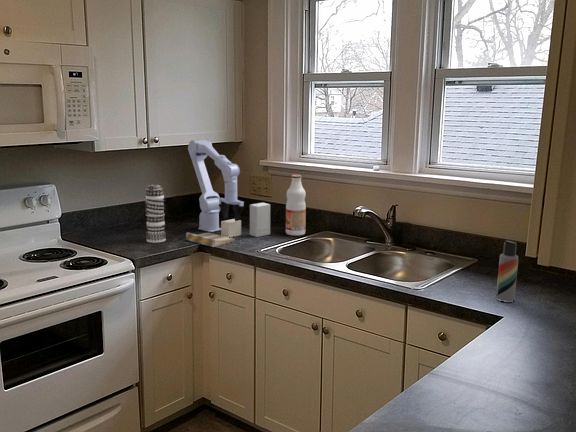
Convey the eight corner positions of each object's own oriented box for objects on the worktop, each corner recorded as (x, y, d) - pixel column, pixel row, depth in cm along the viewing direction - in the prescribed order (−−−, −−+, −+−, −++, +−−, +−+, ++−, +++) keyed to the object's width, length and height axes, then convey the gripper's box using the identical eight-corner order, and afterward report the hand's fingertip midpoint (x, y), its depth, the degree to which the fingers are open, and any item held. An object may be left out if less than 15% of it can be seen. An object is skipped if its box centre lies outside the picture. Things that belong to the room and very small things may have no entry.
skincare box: (263, 232, 280) (263, 202, 277) (270, 235, 276) (271, 204, 273) (248, 234, 275) (249, 203, 272) (256, 237, 271) (256, 205, 268)
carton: (221, 236, 273) (220, 221, 271) (233, 233, 279) (233, 218, 277) (228, 237, 270) (228, 223, 268) (241, 235, 275) (241, 220, 274)
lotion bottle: (492, 297, 194) (498, 238, 190) (509, 297, 195) (515, 238, 191) (500, 303, 189) (506, 243, 185) (517, 303, 189) (523, 243, 185)
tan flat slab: (185, 239, 264) (185, 233, 263) (208, 234, 274) (208, 228, 273) (212, 247, 252) (212, 239, 252) (235, 241, 262) (235, 234, 262)
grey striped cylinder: (170, 240, 262) (168, 185, 257) (151, 243, 257) (149, 187, 251) (161, 236, 269) (159, 182, 264) (142, 239, 263) (140, 184, 258)
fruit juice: (300, 236, 273) (301, 177, 268) (282, 234, 277) (282, 175, 272) (308, 232, 282) (309, 174, 276) (291, 230, 286) (291, 173, 280)
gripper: (213, 189, 271) (214, 218, 274) (235, 193, 262) (235, 223, 265) (225, 188, 277) (225, 216, 279) (246, 191, 267) (246, 220, 270)
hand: (231, 219), depth 272 cm, fingers open, 7 cm apart
